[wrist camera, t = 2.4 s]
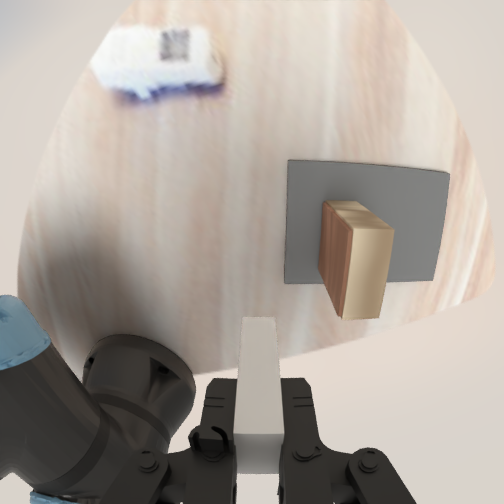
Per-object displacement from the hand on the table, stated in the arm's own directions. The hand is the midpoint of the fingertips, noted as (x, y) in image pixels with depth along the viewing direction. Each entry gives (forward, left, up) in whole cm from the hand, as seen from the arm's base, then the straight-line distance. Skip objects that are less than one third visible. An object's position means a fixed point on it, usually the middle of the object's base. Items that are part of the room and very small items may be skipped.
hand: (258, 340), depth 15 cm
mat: (+11, +1, -17) cm, 20 cm away
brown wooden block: (+8, 0, -16) cm, 18 cm away
